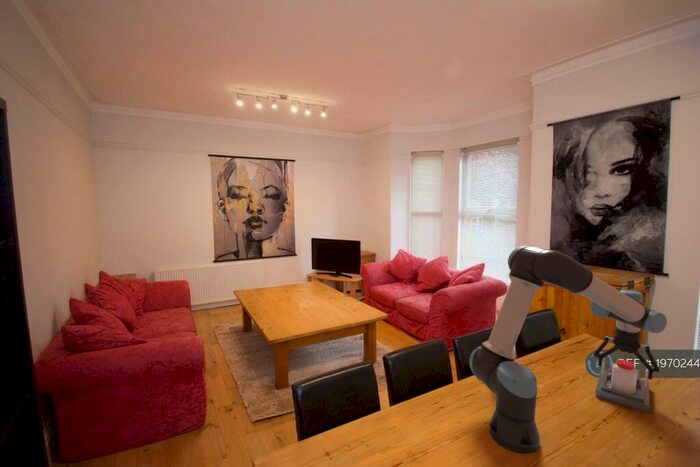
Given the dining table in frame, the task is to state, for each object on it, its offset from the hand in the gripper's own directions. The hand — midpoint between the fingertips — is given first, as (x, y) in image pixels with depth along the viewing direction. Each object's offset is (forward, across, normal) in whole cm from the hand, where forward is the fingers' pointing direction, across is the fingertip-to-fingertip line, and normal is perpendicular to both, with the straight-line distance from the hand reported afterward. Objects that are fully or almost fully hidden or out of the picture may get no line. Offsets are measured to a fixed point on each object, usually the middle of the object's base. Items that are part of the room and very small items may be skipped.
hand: (623, 379), depth 133 cm
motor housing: (+7, 0, -3) cm, 7 cm away
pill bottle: (+4, 0, 0) cm, 4 cm away
